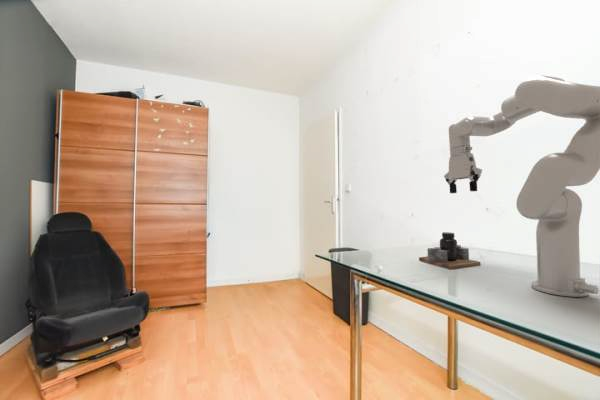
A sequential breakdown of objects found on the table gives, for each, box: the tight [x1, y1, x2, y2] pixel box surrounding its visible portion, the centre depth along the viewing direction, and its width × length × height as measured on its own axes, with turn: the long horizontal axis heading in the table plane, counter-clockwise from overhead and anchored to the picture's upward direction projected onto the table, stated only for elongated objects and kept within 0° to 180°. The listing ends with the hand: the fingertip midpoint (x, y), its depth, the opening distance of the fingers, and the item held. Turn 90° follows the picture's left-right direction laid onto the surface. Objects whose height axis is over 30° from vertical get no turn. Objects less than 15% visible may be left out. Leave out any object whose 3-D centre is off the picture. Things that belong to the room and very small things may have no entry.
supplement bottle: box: [439, 231, 458, 261], centre depth 120 cm, size 7×7×12 cm
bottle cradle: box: [418, 244, 481, 270], centre depth 120 cm, size 18×16×8 cm
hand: (463, 192), depth 114 cm, fingers open, 9 cm apart
